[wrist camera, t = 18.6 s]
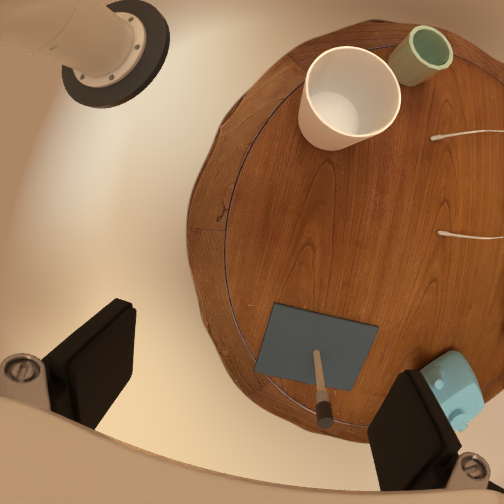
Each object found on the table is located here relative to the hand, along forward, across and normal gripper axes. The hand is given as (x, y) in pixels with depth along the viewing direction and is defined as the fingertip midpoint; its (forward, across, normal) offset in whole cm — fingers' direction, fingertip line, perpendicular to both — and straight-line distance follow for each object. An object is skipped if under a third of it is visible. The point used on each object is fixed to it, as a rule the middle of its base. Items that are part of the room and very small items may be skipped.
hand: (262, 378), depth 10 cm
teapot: (+33, -32, +18) cm, 49 cm away
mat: (+33, -10, +17) cm, 38 cm away
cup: (+33, -3, -15) cm, 37 cm away
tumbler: (+33, -12, -26) cm, 44 cm away
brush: (+32, -10, +17) cm, 38 cm away
